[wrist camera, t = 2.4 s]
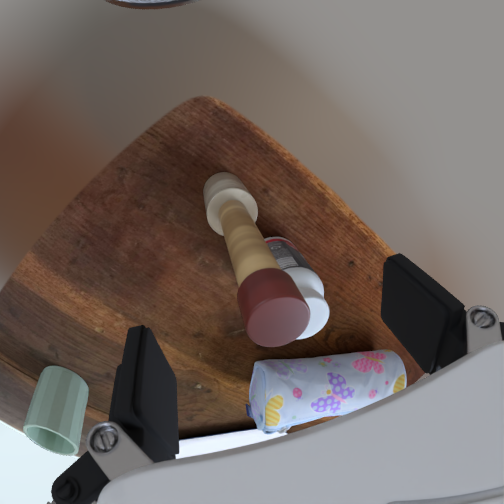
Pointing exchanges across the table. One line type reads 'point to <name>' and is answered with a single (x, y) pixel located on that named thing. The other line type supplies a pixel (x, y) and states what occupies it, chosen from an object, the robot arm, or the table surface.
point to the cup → (57, 411)
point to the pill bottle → (302, 282)
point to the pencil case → (320, 387)
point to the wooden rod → (254, 266)
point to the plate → (222, 442)
